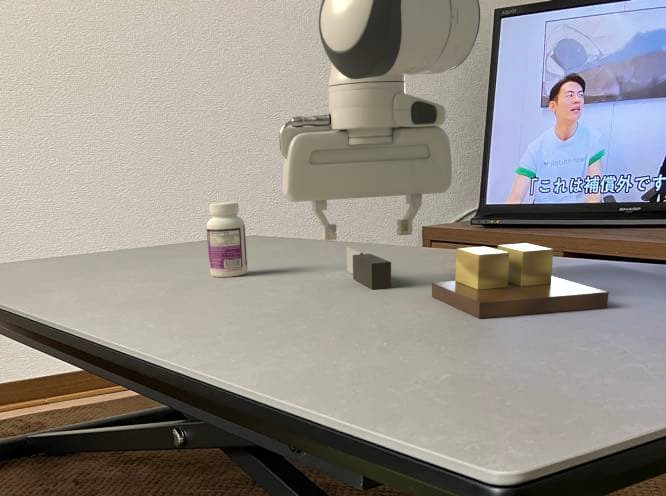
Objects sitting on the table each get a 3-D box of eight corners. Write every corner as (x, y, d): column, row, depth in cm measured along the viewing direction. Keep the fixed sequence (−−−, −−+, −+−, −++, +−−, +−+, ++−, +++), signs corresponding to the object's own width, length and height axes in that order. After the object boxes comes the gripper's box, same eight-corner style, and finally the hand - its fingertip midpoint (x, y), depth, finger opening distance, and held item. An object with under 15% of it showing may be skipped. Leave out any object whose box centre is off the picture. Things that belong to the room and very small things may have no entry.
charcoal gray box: (391, 288, 108) (391, 260, 107) (371, 289, 108) (371, 261, 106) (356, 270, 124) (356, 246, 123) (339, 271, 124) (339, 247, 123)
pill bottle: (220, 272, 131) (214, 201, 128) (253, 272, 129) (249, 200, 126) (203, 277, 127) (197, 204, 123) (238, 277, 125) (233, 203, 121)
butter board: (543, 287, 102) (546, 241, 100) (607, 307, 88) (612, 254, 86) (431, 296, 100) (432, 249, 98) (478, 318, 87) (481, 264, 85)
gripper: (283, 116, 101) (287, 245, 107) (459, 107, 103) (454, 234, 109) (274, 118, 107) (279, 240, 112) (441, 109, 109) (438, 230, 114)
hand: (367, 237), depth 110 cm, fingers open, 8 cm apart
